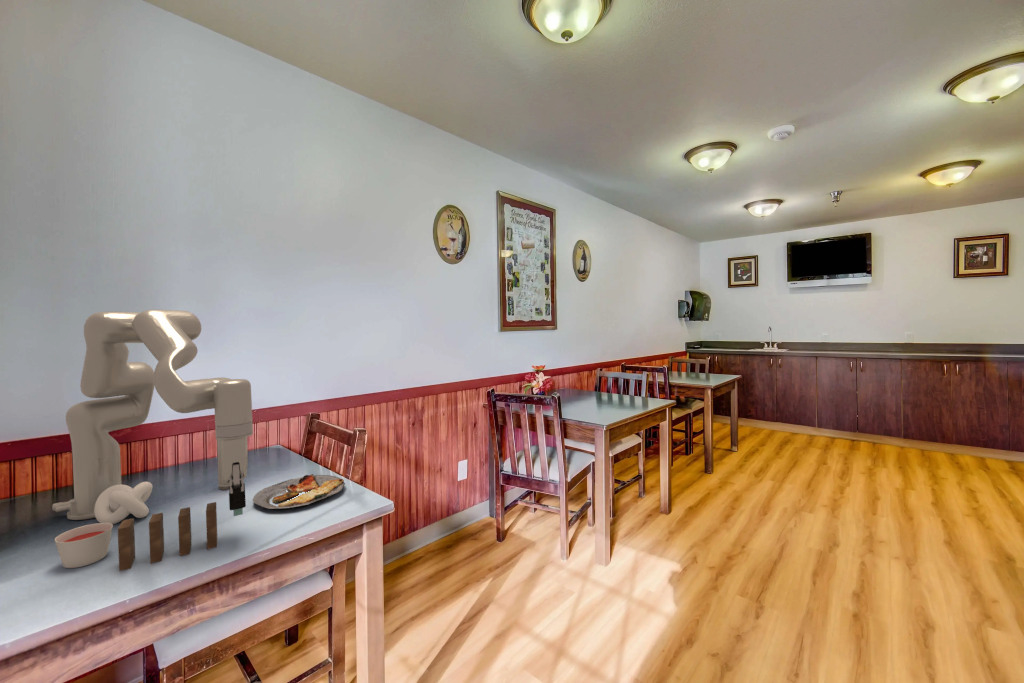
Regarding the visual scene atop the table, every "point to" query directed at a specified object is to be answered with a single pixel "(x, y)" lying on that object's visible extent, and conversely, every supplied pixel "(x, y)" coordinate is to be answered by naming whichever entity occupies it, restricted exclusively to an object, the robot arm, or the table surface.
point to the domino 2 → (156, 537)
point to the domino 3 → (184, 531)
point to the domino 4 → (211, 525)
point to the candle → (84, 544)
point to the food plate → (299, 491)
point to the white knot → (122, 502)
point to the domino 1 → (126, 544)
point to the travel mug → (221, 484)
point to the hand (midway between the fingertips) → (237, 503)
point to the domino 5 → (237, 511)
